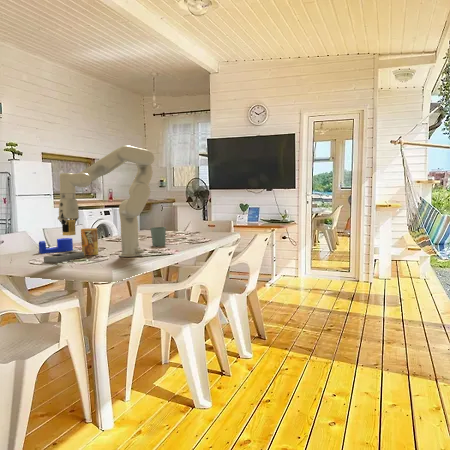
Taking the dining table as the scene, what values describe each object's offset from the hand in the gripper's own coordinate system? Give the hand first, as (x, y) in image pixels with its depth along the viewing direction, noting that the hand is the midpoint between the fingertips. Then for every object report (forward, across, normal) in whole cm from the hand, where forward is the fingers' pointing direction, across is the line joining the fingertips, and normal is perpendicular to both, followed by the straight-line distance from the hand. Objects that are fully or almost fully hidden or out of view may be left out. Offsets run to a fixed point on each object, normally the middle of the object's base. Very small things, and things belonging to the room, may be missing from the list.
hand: (68, 231), depth 212 cm
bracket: (+16, +27, +34) cm, 47 cm away
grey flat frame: (+16, +4, +7) cm, 18 cm away
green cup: (+15, +67, -15) cm, 70 cm away
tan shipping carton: (+2, 0, 0) cm, 2 cm away
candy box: (+16, +22, +4) cm, 27 cm away
